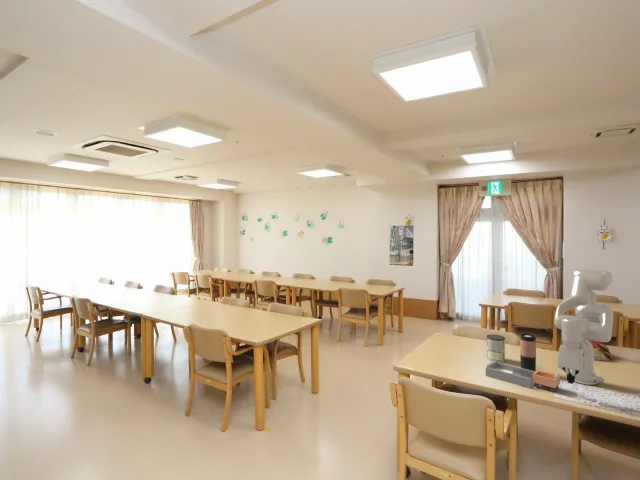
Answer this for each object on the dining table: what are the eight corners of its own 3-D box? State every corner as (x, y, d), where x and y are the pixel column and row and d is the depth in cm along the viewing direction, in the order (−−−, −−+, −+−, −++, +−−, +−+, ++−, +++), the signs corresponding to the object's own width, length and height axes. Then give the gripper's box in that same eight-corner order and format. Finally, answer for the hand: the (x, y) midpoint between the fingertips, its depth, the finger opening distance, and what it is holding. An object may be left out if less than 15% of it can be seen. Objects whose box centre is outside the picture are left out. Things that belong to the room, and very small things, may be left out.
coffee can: (484, 356, 224) (484, 334, 224) (501, 356, 223) (501, 334, 223) (490, 361, 214) (490, 338, 214) (508, 362, 213) (508, 339, 213)
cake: (618, 364, 209) (618, 347, 209) (567, 356, 223) (567, 341, 223) (614, 354, 228) (614, 338, 228) (568, 347, 242) (568, 333, 242)
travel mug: (517, 369, 202) (517, 334, 202) (526, 367, 204) (526, 333, 204) (529, 374, 195) (529, 337, 195) (539, 372, 197) (539, 336, 197)
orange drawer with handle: (560, 388, 176) (560, 372, 176) (555, 393, 170) (555, 376, 170) (537, 382, 183) (537, 367, 183) (532, 386, 178) (532, 371, 178)
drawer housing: (539, 381, 185) (539, 370, 185) (530, 388, 176) (530, 377, 176) (495, 369, 201) (495, 359, 201) (485, 375, 192) (485, 365, 192)
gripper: (592, 346, 166) (592, 385, 165) (555, 339, 177) (555, 376, 177) (588, 349, 161) (588, 389, 160) (550, 342, 172) (550, 380, 172)
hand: (570, 382), depth 168 cm, fingers closed
